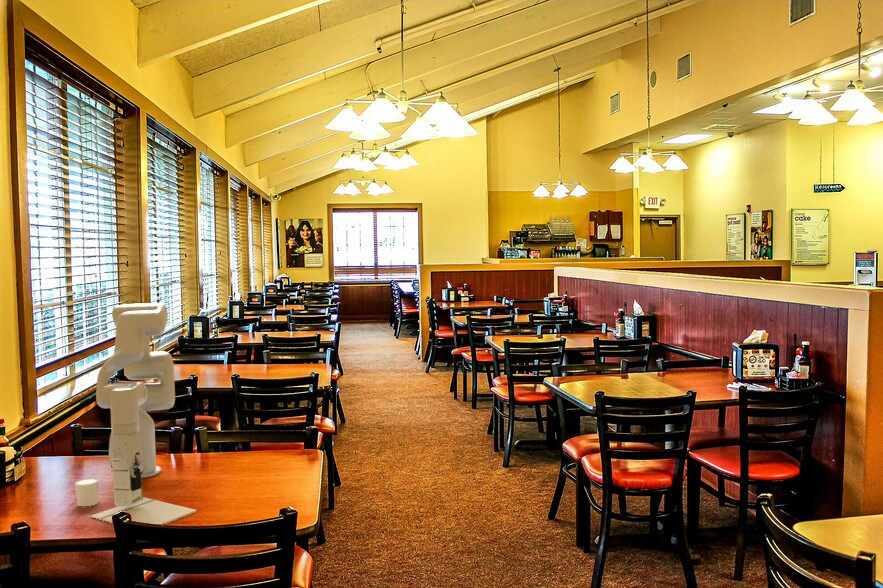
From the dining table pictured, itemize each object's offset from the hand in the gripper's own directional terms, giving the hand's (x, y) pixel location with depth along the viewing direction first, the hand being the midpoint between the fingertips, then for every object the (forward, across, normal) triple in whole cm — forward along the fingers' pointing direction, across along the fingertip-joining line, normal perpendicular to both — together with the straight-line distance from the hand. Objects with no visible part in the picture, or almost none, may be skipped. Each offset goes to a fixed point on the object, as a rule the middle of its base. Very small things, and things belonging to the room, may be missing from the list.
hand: (127, 487), depth 213 cm
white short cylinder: (+7, -17, -2) cm, 19 cm away
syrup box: (+5, 0, 0) cm, 5 cm away
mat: (+7, +7, 0) cm, 10 cm away
